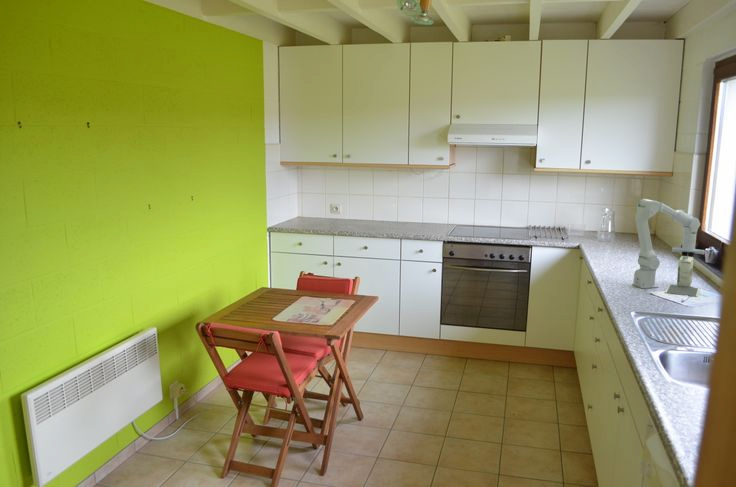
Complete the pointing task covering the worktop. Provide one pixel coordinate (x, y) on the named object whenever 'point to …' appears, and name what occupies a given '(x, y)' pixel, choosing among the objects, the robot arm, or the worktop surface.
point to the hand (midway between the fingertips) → (686, 266)
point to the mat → (682, 290)
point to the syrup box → (685, 271)
